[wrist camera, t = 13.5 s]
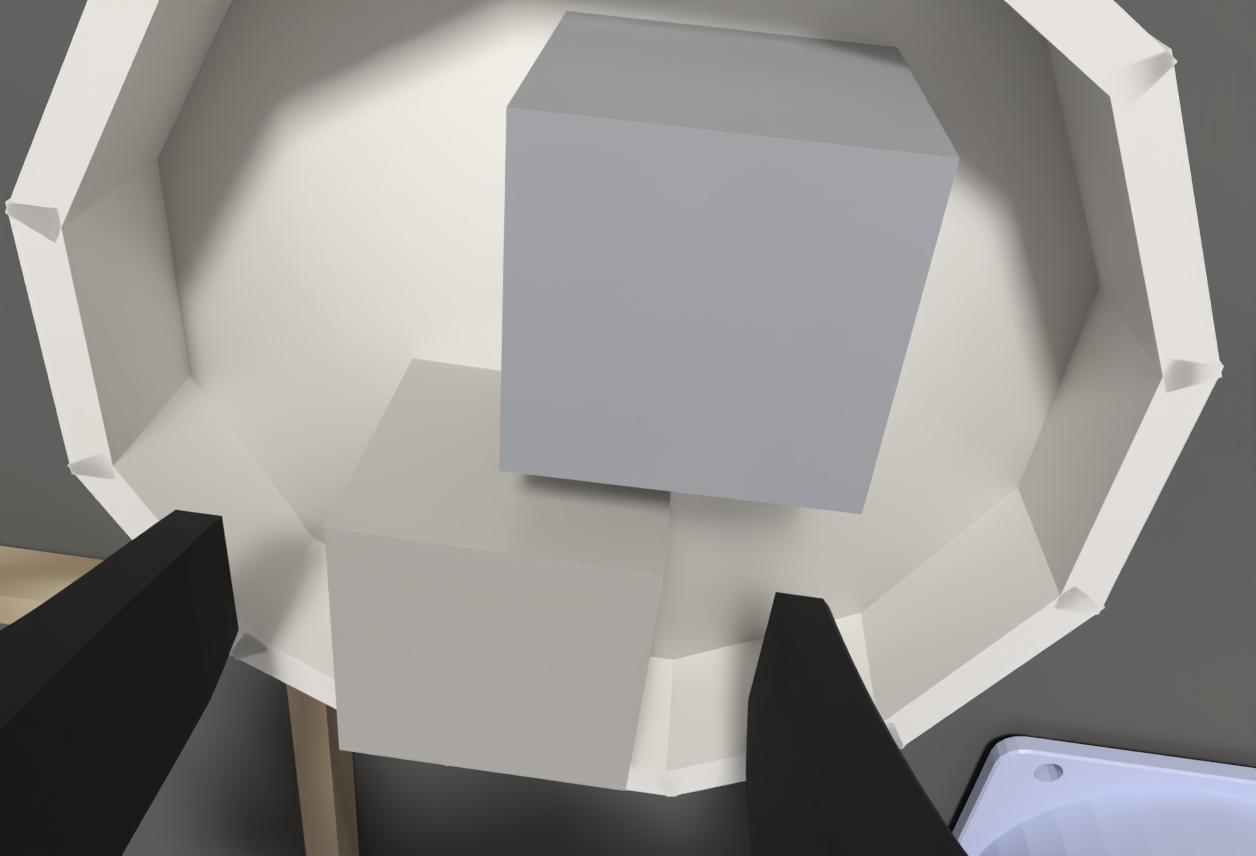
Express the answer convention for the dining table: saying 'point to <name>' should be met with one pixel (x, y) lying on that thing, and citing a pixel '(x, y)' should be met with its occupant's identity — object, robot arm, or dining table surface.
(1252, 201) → the dining table surface
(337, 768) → the parts frame
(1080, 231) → the bowl
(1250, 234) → the dining table surface
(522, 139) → the matte grey cube
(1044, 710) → the dining table surface
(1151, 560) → the dining table surface
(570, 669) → the beige grey cube
